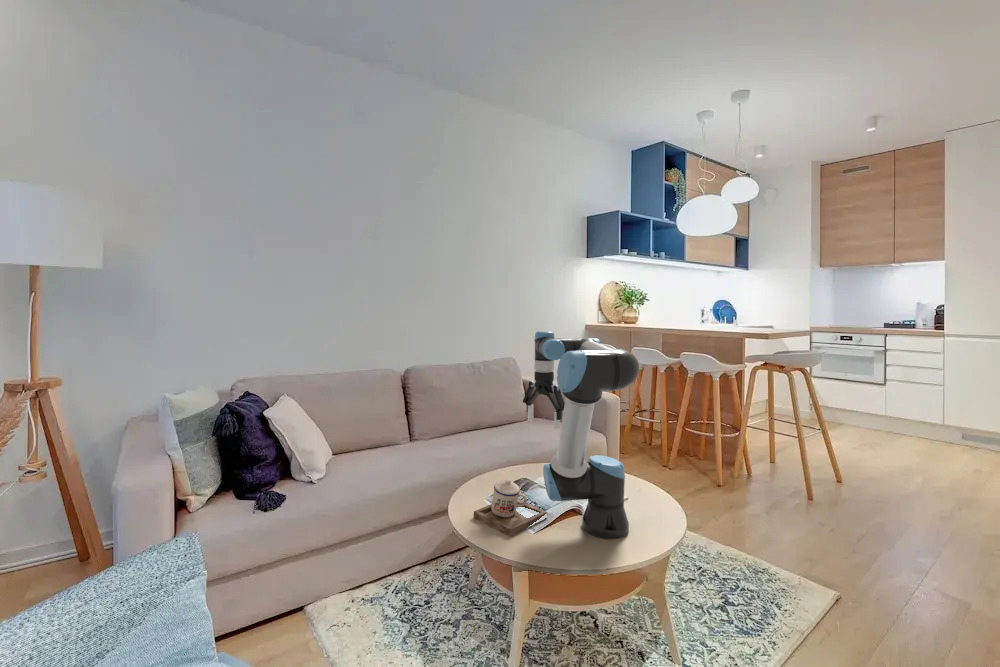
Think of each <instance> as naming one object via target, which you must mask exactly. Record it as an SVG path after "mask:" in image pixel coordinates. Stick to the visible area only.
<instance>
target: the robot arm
mask: <svg viewBox="0 0 1000 667" xmlns="http://www.w3.org/2000/svg"><path fill="white" fill-rule="evenodd" d="M557 360H558V365H557V370H556V374H557V376H556V383H557V384H555V385H554V381H555V373H554V369H555V361H557ZM533 368H534V370H535V371H534V380H530V381H528V386H527V390H526V391H525V394H524V397H523V399H522V403H524V404H525V405H526V413H527V422H528V423H529V422H533V421H534V413H535V412H534V408H535V406H534V402H535V401H536V399H537V398H538V397H539V395H542V396H546V397H547V398H548V399H549V400H550V402H551V404H552V406H553V409H555V411H554V412H553V413H554V416H553V418H554V421H553V425H554V426H553V428H554V429H559V428H560V433H559V438H558V444H557V451H556V453H555V454H553V456H552V457H551V459H550V463H545V464H543V468H542V469H543V481H544V487H545V491H546V494H547V497H548V498H549V500H551V501H553V502H562V503H563V502H570V501H582V500H583V501H584V500H587V504H586V507H585V510H584V512H583V516H582V518H581V519H582V520H581V522H582V523H581V525H582V529H583V530H584V531H585V532H586V533H587V534H590V535H591V536H595V537H597V538H601V537H603V538H602V539H618V537H620V538H623V537H625V536H626V535H627V534H628V533H629V531H630V530H629V529H630V522H629V521H628V516H627V513H626V510H625V499H624V498H625V483H626V482H625V481H626V480H625V479H626V476H625V475H626V474H625V465H624V464H623V463H622V462H621V461H619V459H616V458H614V457H610V456H608V455H607V456H606V455H599V454H596V455H595V454H594V455H590V456H588V459H587V461H586V459H585V456H586V452H587V445H588V441H589V434H590V430H591V426H592V425H591V424H592V419H593V415H594V414H593V413H594V408H595V404H597V403H599V402H600V401H601V399H602V396H603V392H607V391H608V392H609V391H611V392H612V391H620V390H624V389H627V388H628V387H629V386H631V385H632V384H633V383H634V382H635V381H636V380H637V378H638V376H639V375H640V374H639V373H640V364H639V361H638V359H637V357H636V356H635V355H634V354H633V353H631V352H630V351H628V350H625V349H621V348H617V349H615V348H611V347H608V346H607V345H603V344H602V343H601V341H600V339H599V338H596V337H594V338H593V337H588V338H587V337H584V338H583V337H581V338H579V337H576V338H575V337H574V338H570V337H569V338H564V337H563V338H559V337H558V338H557V337H555V333H554V331H549V330H538V331H536V332H535V334H534V367H533ZM564 398H565V399H564ZM562 412H563V413H562ZM624 535H625V536H624ZM622 536H623V537H622Z"/></svg>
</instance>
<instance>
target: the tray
mask: <svg viewBox="0 0 1000 667" xmlns="http://www.w3.org/2000/svg"><path fill="white" fill-rule="evenodd" d="M523 502H524V501H522V500H520V499H518V500H517V504H522V503H523ZM491 506H492V503H491V504H488V505H486V506H483V507H481V508H478V509H476V510H473V519H475V520H477V521H478V522H480V523H483V524H485V525H487V526H488V527H489V526H490V527H491V528H493V529H495V530H497V531H499V532H501V533H503V534H505V535H506V536H509V537H510V536H511V537H513V536H515V535H517V534H519V533H521V532H523V531H525V530H528V529H529V528H530V527H529V526H530V525H532V524H533V523H534V522H536V521H537V520H539V519H540V518H541V517H542V516H544V515H545V514H546V513H547V514H548V511H546V510H543V509H541V508H539V507H536V506H533V505H532V504H529V503H527V502H526V503H525V505H524V506H522V507H525V508H528V509H531V510H534V511H536V512H539V514H537V515H534V516H532V517H530V518H526V517H524V516H523V515H521V514H519V513H518V512H517V511H516V512H515V514H514V515H513V516H511V517H500V516H498V515H496V514H494V513H493V512H492V510H491ZM528 527H529V528H528Z"/></svg>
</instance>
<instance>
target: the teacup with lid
mask: <svg viewBox="0 0 1000 667" xmlns="http://www.w3.org/2000/svg"><path fill="white" fill-rule="evenodd" d="M520 492H521V489H520V487H519V485H517V483H515V482H513V481H512V480H511V479H509V478H507V479H505V480H499V481H496V482H495V484H494V485H493V494H492V501H491V504H492V506H491V510H492V512H493V513H494V514H496V515H498V516H500V517H511V516H513V515H514V514H515V512H516V507H522V506H524V505H525V503H527V496H526V494H523V493H520ZM519 497H522V498H524V501H522V502H523V503H522V504H517V500H519Z"/></svg>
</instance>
